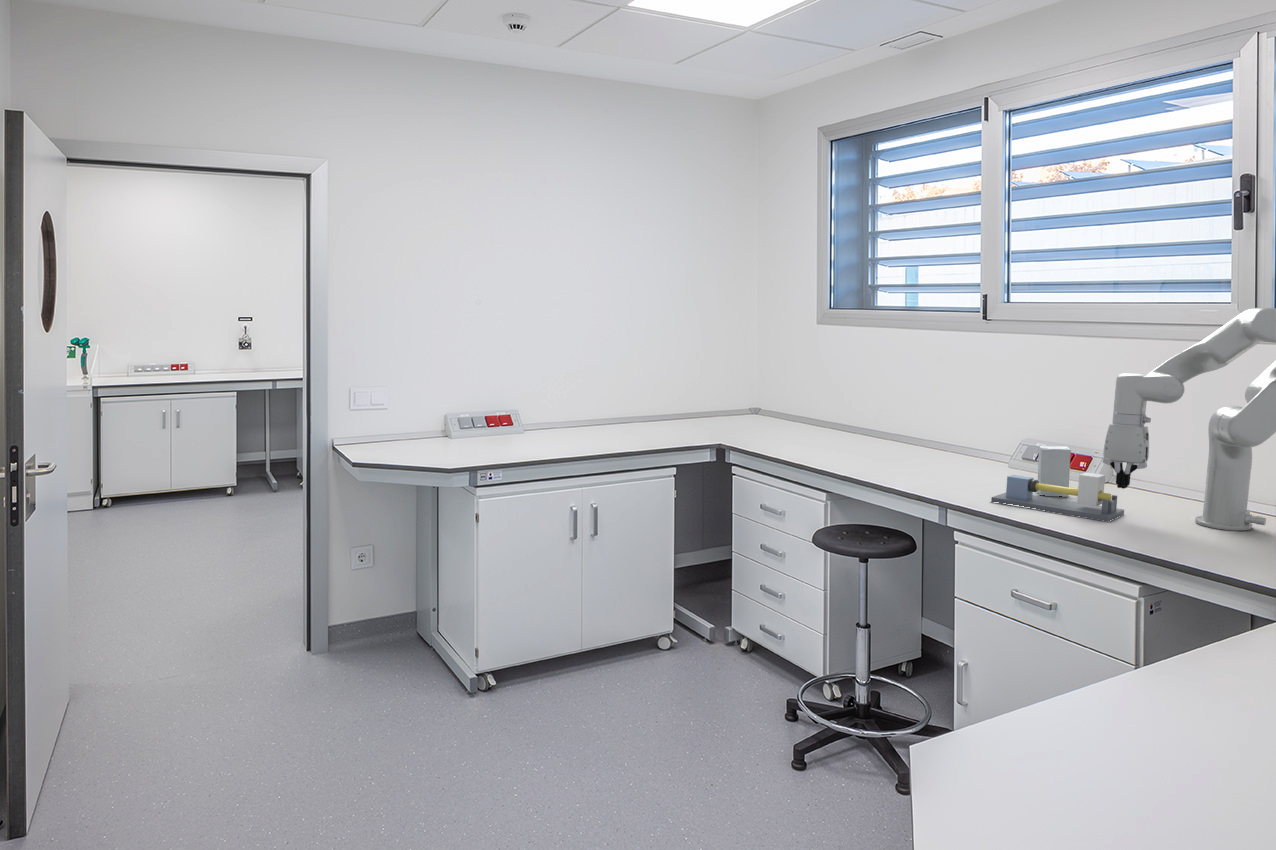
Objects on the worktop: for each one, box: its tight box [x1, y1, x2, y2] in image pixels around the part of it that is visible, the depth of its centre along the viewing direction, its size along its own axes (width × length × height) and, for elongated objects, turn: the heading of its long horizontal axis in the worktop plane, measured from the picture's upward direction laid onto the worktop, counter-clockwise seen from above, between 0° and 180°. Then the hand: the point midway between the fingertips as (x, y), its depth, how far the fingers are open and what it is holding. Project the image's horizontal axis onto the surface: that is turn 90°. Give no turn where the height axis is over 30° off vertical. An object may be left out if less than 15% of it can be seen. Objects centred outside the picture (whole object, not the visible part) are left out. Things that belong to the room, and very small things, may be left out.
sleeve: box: [1076, 472, 1106, 506], centre depth 245 cm, size 5×5×8 cm
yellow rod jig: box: [990, 474, 1125, 522], centre depth 252 cm, size 32×12×8 cm, turn 44°
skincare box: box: [1036, 445, 1072, 498], centre depth 270 cm, size 8×6×15 cm
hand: (1122, 487), depth 239 cm, fingers closed
